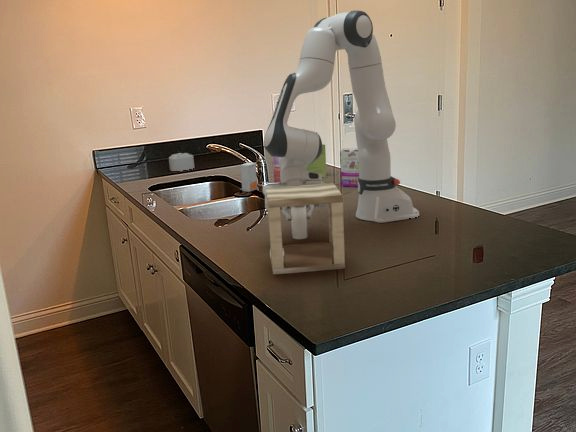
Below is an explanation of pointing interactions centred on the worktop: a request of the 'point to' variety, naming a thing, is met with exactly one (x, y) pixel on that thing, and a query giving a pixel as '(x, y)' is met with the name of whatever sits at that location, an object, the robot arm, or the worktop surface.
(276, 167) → the soda can
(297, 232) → the jar
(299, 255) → the shelf
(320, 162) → the protein box
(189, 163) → the lumpy-topped squat cylinder
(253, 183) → the skincare box
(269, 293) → the worktop surface
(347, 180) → the candy bar box
